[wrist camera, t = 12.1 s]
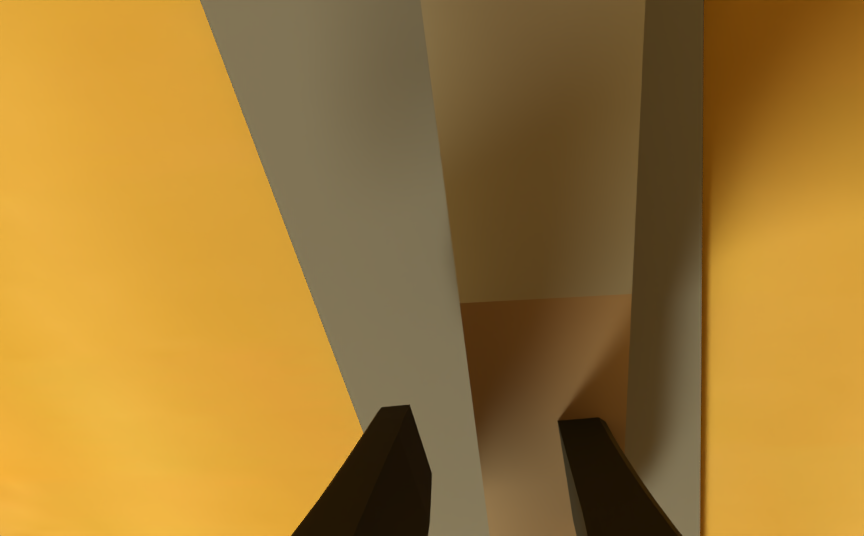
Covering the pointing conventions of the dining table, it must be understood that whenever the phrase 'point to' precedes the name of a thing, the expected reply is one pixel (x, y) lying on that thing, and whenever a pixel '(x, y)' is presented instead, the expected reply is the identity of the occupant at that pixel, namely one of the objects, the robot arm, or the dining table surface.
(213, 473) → the dining table surface
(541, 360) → the two-tone flat stick
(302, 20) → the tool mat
